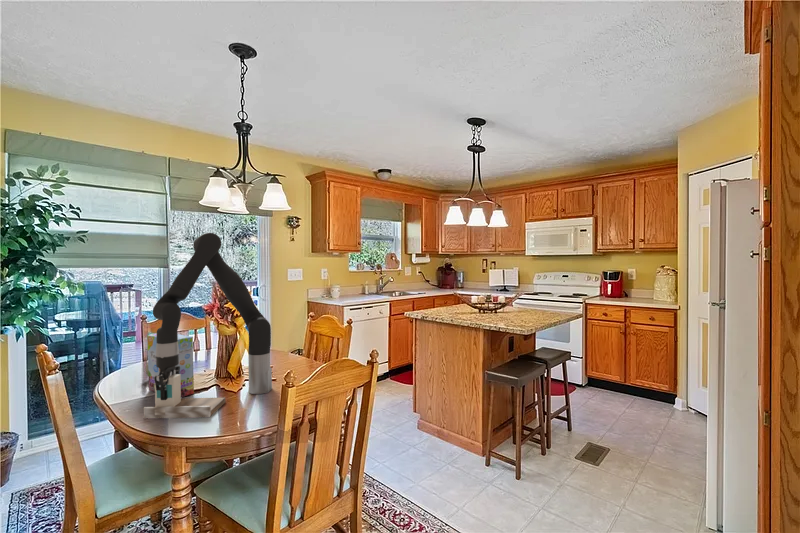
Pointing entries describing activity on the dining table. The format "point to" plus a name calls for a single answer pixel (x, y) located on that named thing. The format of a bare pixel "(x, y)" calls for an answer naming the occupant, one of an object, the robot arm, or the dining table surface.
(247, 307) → the robot arm
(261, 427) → the dining table surface
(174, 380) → the product box
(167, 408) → the shelf plank
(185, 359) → the snack box
